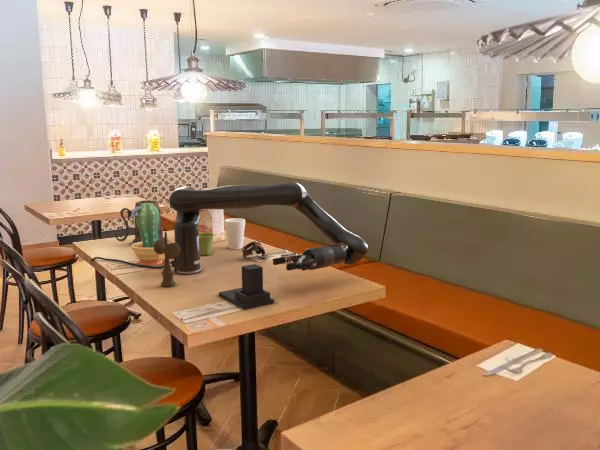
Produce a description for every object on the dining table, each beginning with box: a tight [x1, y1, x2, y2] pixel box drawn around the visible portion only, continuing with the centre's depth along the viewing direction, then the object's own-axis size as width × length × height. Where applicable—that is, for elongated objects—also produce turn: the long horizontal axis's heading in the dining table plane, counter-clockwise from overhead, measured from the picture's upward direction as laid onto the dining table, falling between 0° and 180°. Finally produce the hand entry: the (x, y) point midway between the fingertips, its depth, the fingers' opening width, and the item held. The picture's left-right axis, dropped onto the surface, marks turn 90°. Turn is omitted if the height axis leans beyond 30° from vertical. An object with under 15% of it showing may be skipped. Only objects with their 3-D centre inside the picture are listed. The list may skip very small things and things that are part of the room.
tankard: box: [114, 199, 165, 246], centre depth 270 cm, size 24×17×20 cm
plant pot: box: [199, 233, 214, 256], centre depth 252 cm, size 9×9×9 cm
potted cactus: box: [130, 203, 170, 266], centre depth 235 cm, size 15×15×25 cm
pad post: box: [241, 263, 264, 296], centre depth 187 cm, size 5×5×11 cm
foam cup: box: [224, 217, 246, 250], centre depth 264 cm, size 10×9×13 cm
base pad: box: [218, 287, 275, 310], centre depth 192 cm, size 18×11×4 cm, turn 37°
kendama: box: [154, 231, 180, 288], centre depth 205 cm, size 6×10×20 cm, turn 43°
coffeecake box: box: [199, 209, 226, 243], centre depth 282 cm, size 15×7×20 cm, turn 43°
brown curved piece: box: [241, 240, 267, 260], centre depth 247 cm, size 12×10×8 cm
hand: (280, 264), depth 193 cm, fingers open, 8 cm apart
